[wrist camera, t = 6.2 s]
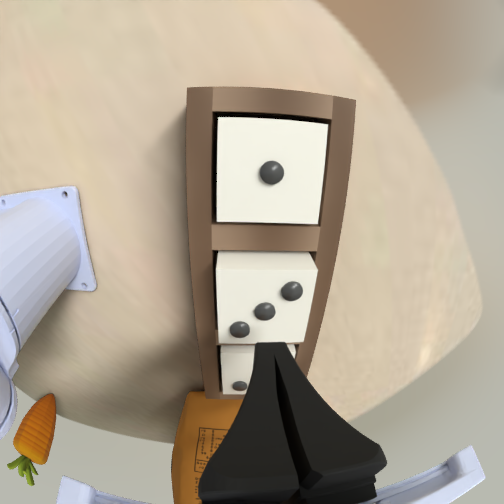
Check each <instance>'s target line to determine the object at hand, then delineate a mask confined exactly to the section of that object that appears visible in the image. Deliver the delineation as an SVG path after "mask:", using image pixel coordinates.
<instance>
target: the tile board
mask: <svg viewBox="0 0 504 504" xmlns="http://www.w3.org/2000/svg"><path fill="white" fill-rule="evenodd" d="M355 108H356V100H353V99H348V98H343V97H337V96H331V95H325V94H318V93H311V92H303V91H294V90H284V89H272V88H256V87H191V88H187V107H186V185H187V214H188V235H189V251H190V265H191V278H192V290H193V301H194V311H195V321H196V330H197V338H198V347H199V354H200V362H201V369H202V376H203V383H204V390H205V396H206V399H244V397H245V394H223V385H222V369H221V364H220V346H219V345H255V344H229V343H219V335H218V312H217V285H216V250H263V251H309V253H310V255H311V257H312V259H313V261H314V263H315V265H316V267H317V269H318V272H317V278H316V283H315V289H314V294H313V299H312V304H311V309H310V314H309V319H308V324H307V328H306V333H305V337H304V342H292V343H286V344H287V345H288V344H294V346H295V350H296V354H295V358H294V359H295V361H296V362H297V364H298V366H299V367H300V369H301V370H302V372H303V373H304V375H305V376H306V378H307V375H308V371H309V368H310V365H311V361H312V357H313V354H314V350H315V347H316V343H317V339H318V335H319V331H320V328H321V324H322V320H323V315H324V311H325V307H326V303H327V298H328V294H329V290H330V285H331V280H332V276H333V271H334V266H335V261H336V256H337V250H338V245H339V239H340V234H341V228H342V222H343V216H344V209H345V203H346V196H347V188H348V181H349V173H350V164H351V155H352V145H353V135H354V122H355ZM217 114H260V115H276V116H289V117H300V118H309V119H315V123H321V124H328V131H327V144H326V155H325V166H324V175H323V185H322V194H321V202H320V210H319V218H318V224H299V223H263V222H217V207H216V130H217Z"/></svg>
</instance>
